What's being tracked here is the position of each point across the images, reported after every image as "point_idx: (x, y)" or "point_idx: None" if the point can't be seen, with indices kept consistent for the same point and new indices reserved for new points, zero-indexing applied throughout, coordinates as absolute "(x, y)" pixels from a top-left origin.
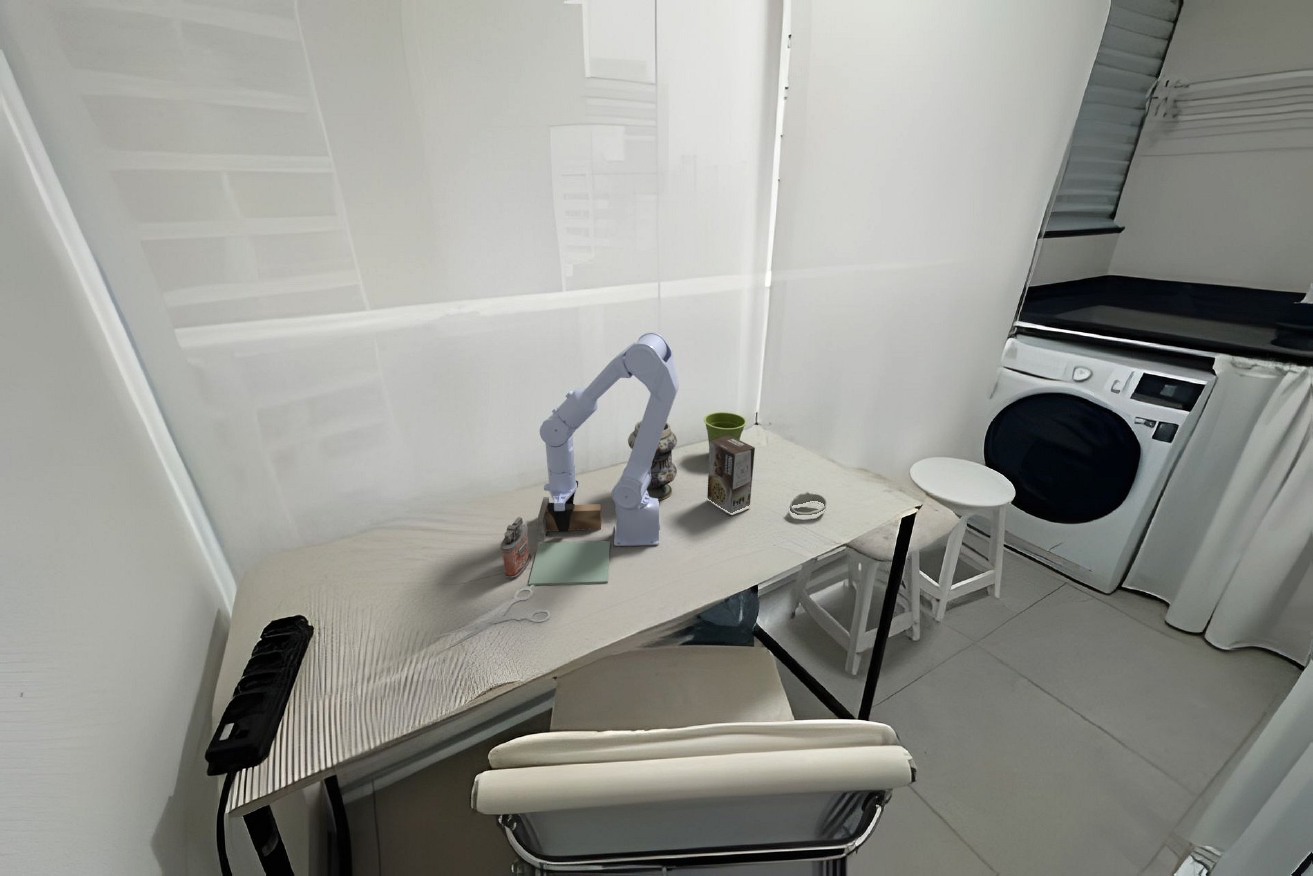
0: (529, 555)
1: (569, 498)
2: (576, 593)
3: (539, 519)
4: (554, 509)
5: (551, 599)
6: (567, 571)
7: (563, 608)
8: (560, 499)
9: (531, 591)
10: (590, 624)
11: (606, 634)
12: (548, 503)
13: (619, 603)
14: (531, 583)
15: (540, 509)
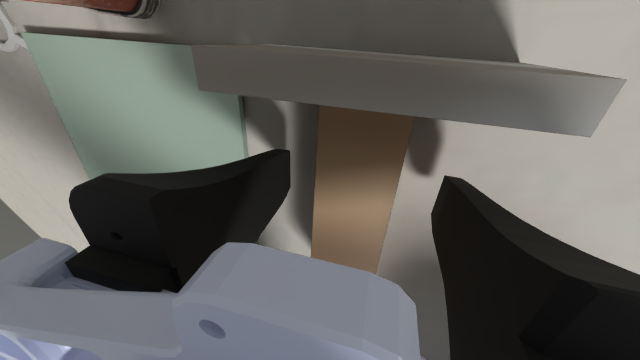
0: (126, 13)
1: (454, 277)
2: (68, 170)
3: (215, 65)
4: (24, 247)
5: (23, 110)
6: (113, 158)
7: (17, 138)
8: (24, 355)
9: (9, 47)
10: (15, 186)
11: (13, 206)
12: (134, 202)
13: (82, 239)
14: (26, 43)
15: (359, 62)
